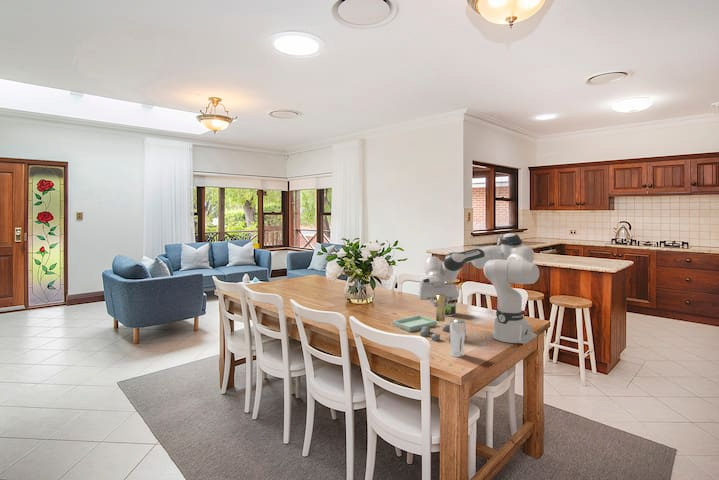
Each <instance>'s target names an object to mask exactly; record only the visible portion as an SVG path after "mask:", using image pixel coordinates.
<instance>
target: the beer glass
mask: <svg viewBox="0 0 719 480" xmlns="http://www.w3.org/2000/svg"><path fill="white" fill-rule="evenodd" d="M449 325H450V327H449V332H448V334H449V335H450V341H451V342H450V341H449V342H450V352H449V355H450V356H451V357H455V358H462V357H464V356H465V350H464V345H465V339H466V331H467V329H466V321H465V320H463V319H461V318H460V319H457V318H453V319H450V320H449Z"/></svg>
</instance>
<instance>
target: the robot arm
mask: <svg viewBox="0 0 719 480" xmlns="http://www.w3.org/2000/svg"><path fill="white" fill-rule="evenodd" d="M499 241H500V247H499V246H497V245H489V246H485V247H481V248H472V249H469V250H465V251H460V252H459V251H458V252H456V251H455V252H454V251H453V252H450V253H447V254H446V255H445V258H444V260H443V261H442V260H441V259H439V258H438V256H436V255H435V256H430V257H427V259H426V260H425V261H424V270H425V275H426V278H423V279H421V281H420V283H419V286H418V287H419V290H418V299H419V300H420V301H430V303H431V305H432V306H433V307H434V308H436V307H437V302H436V295H437V294H444V295H445V300H446V301H447V302H445V307H448V301H449V300H456V301H457V299H458V298H459V296H460V293H459V291H458V288H457V285H456V284H455V283H454V281H455V280H456V279H457V277H458V275H459V273H460V271H462V268H463V267H464V265H466V264H468V263H471V264H472V265H473V266H474V267H475V268H477V269H479V270H481V269H482V270H483V274H484V276H485V278H486V279H487V280H488V281H489V282H491V283H492V285H493V288H494V289H495V292H496V296H497V297H496V298H497V308H496V312H495V313H496V315H495V316H496V317H495V319H494V323H493V330H492V331H491V335H492V337H493V338H494V339H495V340H496V341H499V342H503V343H508V344H509V343H510V344H525V345H526V344H528V343H529V342H531V341H533V340H535V339H536V338H538V336H537V334H536V333H534V332H532V324H531V323H530V322H528V321H527V320H526V319H525V318H524V316H527V314H528V313H527V311H526V310H523V308H522V307H523V306H522V304H523V298H522V295H521V294H520V292H519V291H517V290H516V289H514V288H513V287H512V285H511V284H519V285H531V284H535V283H536V282H538V279H539V277H540V270H539V267H538V265H537V264H536V263H534V259H535V252H534V250H533V248H531V246H527V245H522V242H523V240H522V239H521V238H520V236H519V234H517V233H513V232H508V233H505V234H503V235H502V236H500V240H499Z"/></svg>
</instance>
